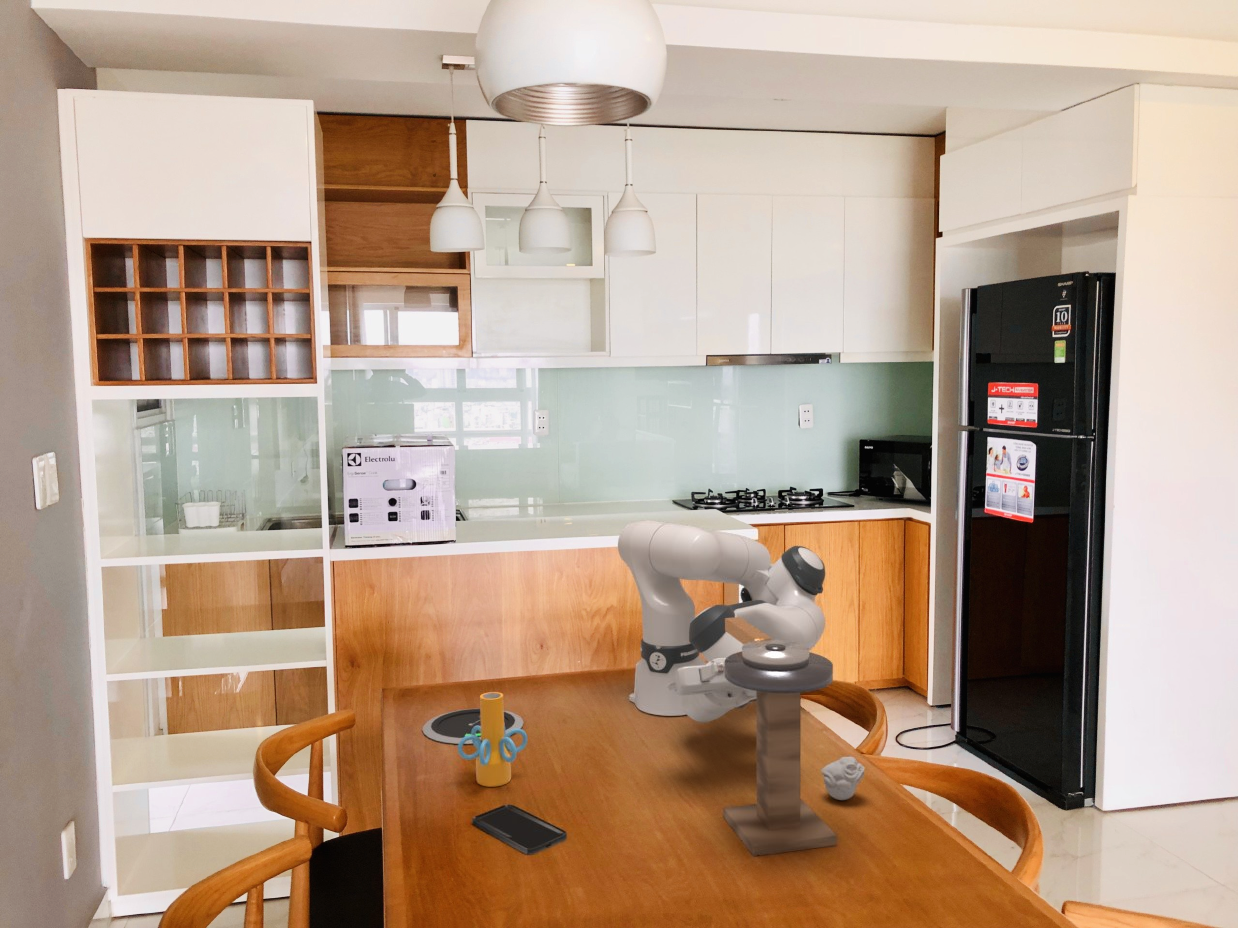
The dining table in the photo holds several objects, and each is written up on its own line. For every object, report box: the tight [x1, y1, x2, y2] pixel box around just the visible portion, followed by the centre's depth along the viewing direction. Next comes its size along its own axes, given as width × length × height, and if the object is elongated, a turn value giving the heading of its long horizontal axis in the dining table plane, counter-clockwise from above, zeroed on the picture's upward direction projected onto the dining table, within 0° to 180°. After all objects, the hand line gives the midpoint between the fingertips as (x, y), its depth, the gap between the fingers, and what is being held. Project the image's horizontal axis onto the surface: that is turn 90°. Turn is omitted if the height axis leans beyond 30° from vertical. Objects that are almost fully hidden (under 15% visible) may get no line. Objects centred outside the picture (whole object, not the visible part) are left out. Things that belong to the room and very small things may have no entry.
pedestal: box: [722, 651, 838, 857], centre depth 144 cm, size 16×16×26 cm
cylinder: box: [457, 691, 528, 788], centre depth 164 cm, size 12×10×15 cm
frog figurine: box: [820, 756, 866, 801], centre depth 155 cm, size 6×7×7 cm
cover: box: [725, 617, 810, 671], centre depth 150 cm, size 24×10×2 cm, turn 13°
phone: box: [471, 803, 568, 856], centre depth 146 cm, size 8×1×15 cm
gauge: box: [421, 708, 525, 746], centre depth 191 cm, size 20×20×1 cm
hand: (746, 665), depth 156 cm, fingers open, 8 cm apart
